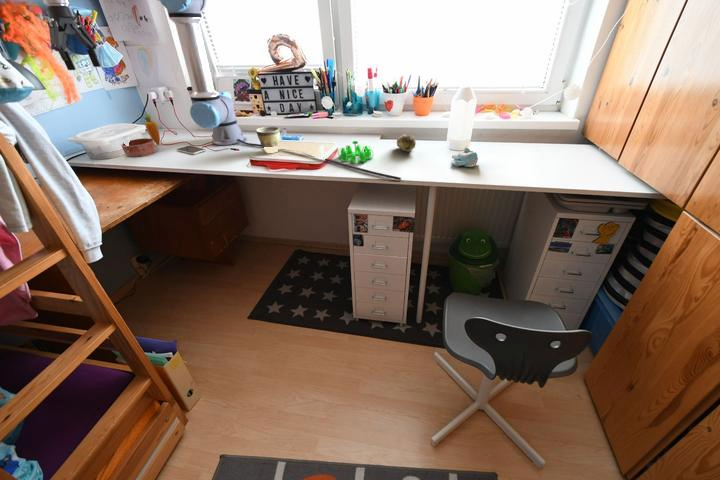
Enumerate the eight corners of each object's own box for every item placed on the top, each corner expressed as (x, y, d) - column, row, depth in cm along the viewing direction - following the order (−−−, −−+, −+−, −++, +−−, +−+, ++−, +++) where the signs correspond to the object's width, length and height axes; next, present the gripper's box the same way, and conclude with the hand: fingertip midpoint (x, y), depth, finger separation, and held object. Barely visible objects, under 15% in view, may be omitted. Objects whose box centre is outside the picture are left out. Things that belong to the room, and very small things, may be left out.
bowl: (162, 150, 154) (158, 140, 151) (134, 159, 145) (129, 148, 142) (148, 146, 160) (144, 136, 158) (120, 154, 151) (115, 143, 149)
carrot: (159, 146, 161) (147, 114, 152) (150, 146, 162) (138, 114, 153) (166, 143, 165) (154, 112, 156) (157, 143, 166) (145, 112, 157)
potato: (415, 147, 146) (416, 129, 142) (415, 156, 135) (416, 137, 131) (396, 147, 147) (397, 129, 143) (395, 156, 136) (395, 137, 132)
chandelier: (376, 153, 141) (376, 137, 137) (370, 165, 128) (369, 148, 125) (342, 152, 143) (341, 136, 140) (333, 163, 131) (332, 147, 127)
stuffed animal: (465, 143, 130) (486, 146, 119) (465, 161, 133) (486, 165, 122) (443, 148, 126) (463, 150, 116) (443, 166, 129) (463, 170, 119)
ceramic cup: (280, 154, 143) (276, 132, 138) (258, 155, 143) (253, 132, 138) (286, 146, 154) (282, 124, 148) (265, 146, 154) (261, 125, 149)
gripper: (74, 7, 134) (98, 65, 145) (17, 4, 113) (51, 71, 125) (91, 7, 133) (114, 65, 145) (37, 3, 112) (69, 71, 124)
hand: (85, 68), depth 135 cm, fingers open, 13 cm apart
